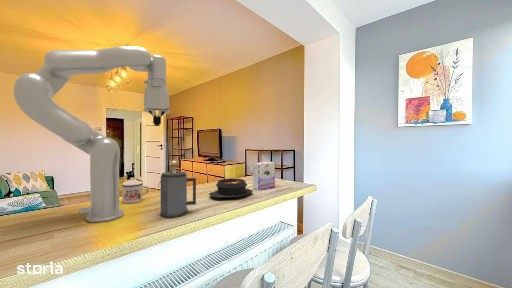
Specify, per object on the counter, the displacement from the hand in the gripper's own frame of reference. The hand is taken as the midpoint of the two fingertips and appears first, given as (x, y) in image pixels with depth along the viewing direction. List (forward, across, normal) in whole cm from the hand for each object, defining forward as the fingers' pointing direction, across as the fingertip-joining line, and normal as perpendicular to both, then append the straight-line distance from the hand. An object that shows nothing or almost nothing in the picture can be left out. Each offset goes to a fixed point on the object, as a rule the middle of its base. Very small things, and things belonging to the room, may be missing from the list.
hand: (157, 125), depth 102 cm
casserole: (+37, +36, +13) cm, 54 cm away
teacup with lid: (+37, -12, +14) cm, 42 cm away
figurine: (+37, +3, +9) cm, 38 cm away
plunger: (+35, +8, -10) cm, 38 cm away
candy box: (+37, +59, +27) cm, 75 cm away
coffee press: (+37, +10, -10) cm, 40 cm away
